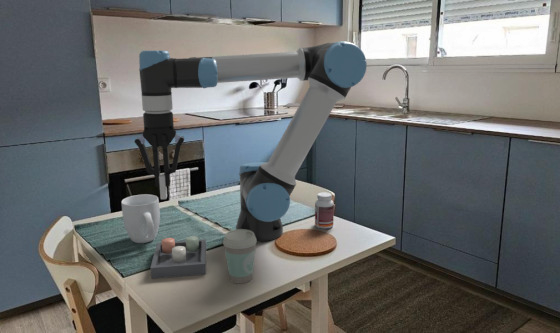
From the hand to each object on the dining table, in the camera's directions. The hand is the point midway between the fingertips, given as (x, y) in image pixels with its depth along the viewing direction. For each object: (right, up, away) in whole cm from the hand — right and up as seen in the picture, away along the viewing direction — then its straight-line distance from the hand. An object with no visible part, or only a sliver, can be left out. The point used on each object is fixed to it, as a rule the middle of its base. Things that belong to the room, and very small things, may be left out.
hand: (163, 197), depth 122 cm
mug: (-10, -15, +17) cm, 25 cm away
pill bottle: (+46, -12, +28) cm, 55 cm away
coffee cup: (+22, -20, -6) cm, 31 cm away
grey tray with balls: (+4, -18, +2) cm, 19 cm away
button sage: (+7, -15, +5) cm, 17 cm away
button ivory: (+5, -17, -1) cm, 17 cm away
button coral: (0, -15, +4) cm, 16 cm away
